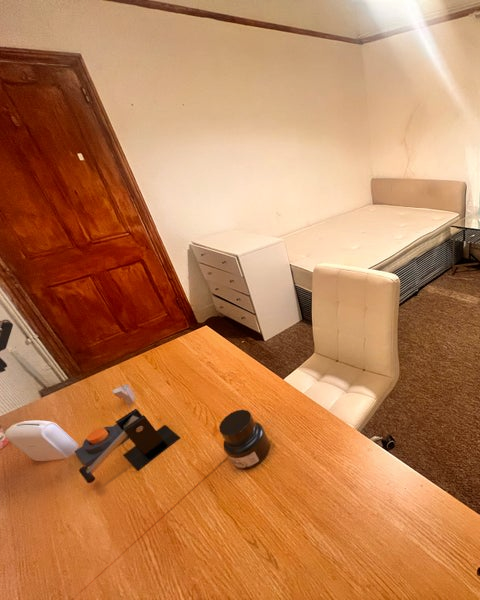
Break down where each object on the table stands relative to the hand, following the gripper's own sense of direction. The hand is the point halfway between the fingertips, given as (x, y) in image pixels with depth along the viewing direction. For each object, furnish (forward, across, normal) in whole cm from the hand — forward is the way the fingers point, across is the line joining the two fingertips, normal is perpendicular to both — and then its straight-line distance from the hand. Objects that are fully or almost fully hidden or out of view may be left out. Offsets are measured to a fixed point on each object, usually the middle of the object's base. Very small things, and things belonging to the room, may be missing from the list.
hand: (0, 371), depth 65 cm
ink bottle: (+29, -22, +40) cm, 54 cm away
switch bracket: (+29, -10, +16) cm, 35 cm away
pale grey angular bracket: (+29, -14, -8) cm, 33 cm away
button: (+25, -4, +4) cm, 26 cm away
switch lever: (+22, -5, +16) cm, 28 cm away
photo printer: (+29, +4, -6) cm, 30 cm away
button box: (+29, -4, +4) cm, 30 cm away
